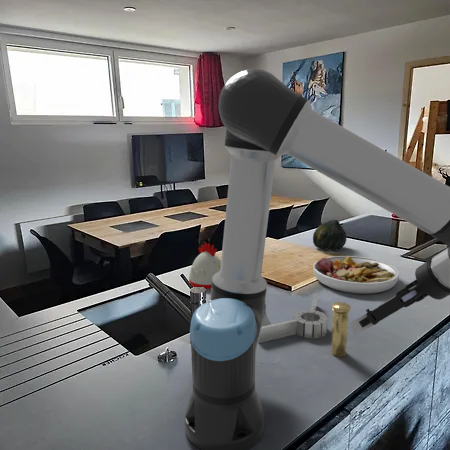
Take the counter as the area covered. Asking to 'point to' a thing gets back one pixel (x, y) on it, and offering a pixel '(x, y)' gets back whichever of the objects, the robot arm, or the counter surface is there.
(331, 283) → the bowl
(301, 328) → the hinge
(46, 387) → the counter surface
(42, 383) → the counter surface
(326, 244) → the squash
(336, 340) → the hinge pin
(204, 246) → the kitchen timer
